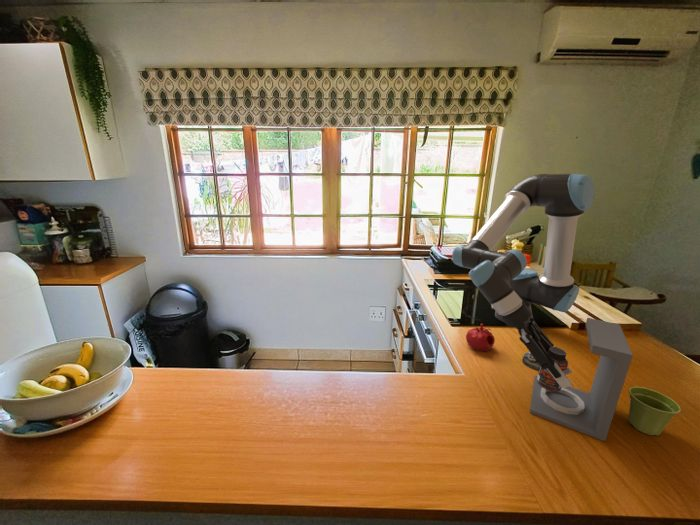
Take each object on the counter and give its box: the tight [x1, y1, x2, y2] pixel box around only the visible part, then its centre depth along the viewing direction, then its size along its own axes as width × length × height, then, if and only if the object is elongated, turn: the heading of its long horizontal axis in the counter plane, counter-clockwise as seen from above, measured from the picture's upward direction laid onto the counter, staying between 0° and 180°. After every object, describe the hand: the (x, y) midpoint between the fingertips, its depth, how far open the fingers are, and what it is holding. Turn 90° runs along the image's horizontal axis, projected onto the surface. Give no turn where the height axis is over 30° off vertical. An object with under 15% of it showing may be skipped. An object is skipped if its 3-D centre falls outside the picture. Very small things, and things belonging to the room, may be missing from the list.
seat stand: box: [529, 317, 633, 442], centre depth 81 cm, size 18×16×24 cm
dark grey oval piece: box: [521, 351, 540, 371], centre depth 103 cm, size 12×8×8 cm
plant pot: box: [628, 386, 682, 437], centre depth 77 cm, size 9×9×9 cm
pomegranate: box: [465, 323, 496, 352], centre depth 112 cm, size 10×10×9 cm
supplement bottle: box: [537, 346, 569, 391], centre depth 83 cm, size 6×6×11 cm
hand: (567, 379), depth 82 cm, fingers closed on supplement bottle, 6 cm apart
